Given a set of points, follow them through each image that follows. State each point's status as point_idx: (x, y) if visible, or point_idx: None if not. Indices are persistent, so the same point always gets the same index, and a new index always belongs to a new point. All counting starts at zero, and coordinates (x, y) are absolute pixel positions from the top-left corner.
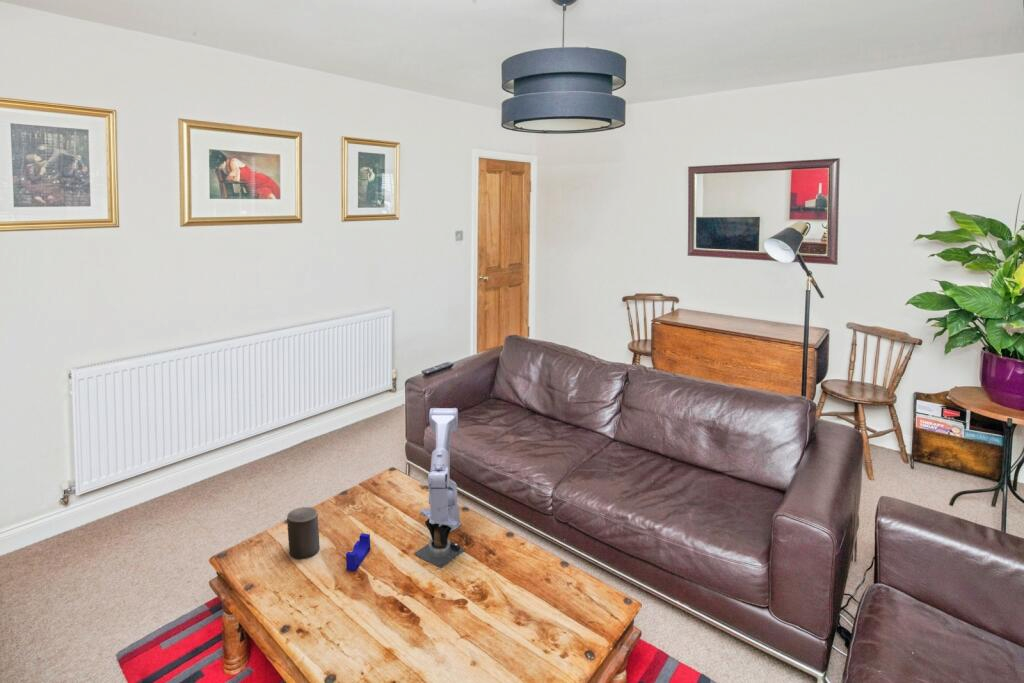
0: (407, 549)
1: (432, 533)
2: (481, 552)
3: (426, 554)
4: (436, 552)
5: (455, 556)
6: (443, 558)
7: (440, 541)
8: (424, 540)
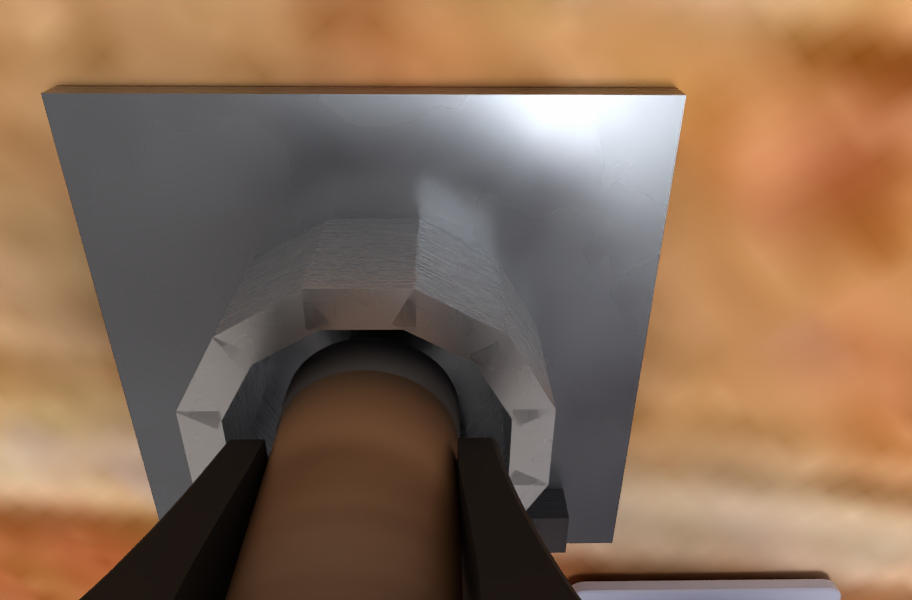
0: (864, 132)
1: (473, 554)
2: (15, 592)
3: (485, 195)
4: (284, 274)
5: (129, 396)
6: (198, 271)
7: (265, 474)
8: (744, 416)
